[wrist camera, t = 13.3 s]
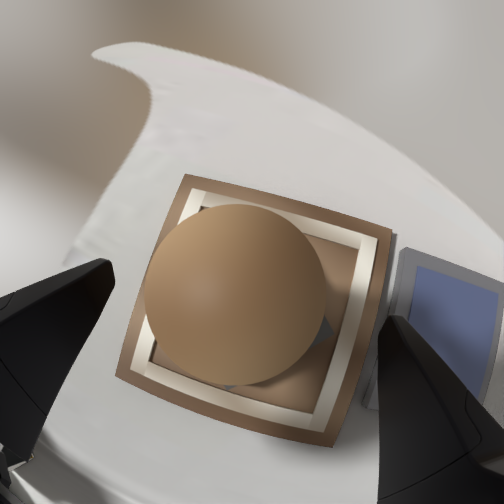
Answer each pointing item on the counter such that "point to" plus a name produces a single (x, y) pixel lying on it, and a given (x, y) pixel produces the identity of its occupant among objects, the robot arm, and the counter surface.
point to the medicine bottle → (13, 459)
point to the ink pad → (448, 317)
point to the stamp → (236, 295)
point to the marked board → (313, 360)
